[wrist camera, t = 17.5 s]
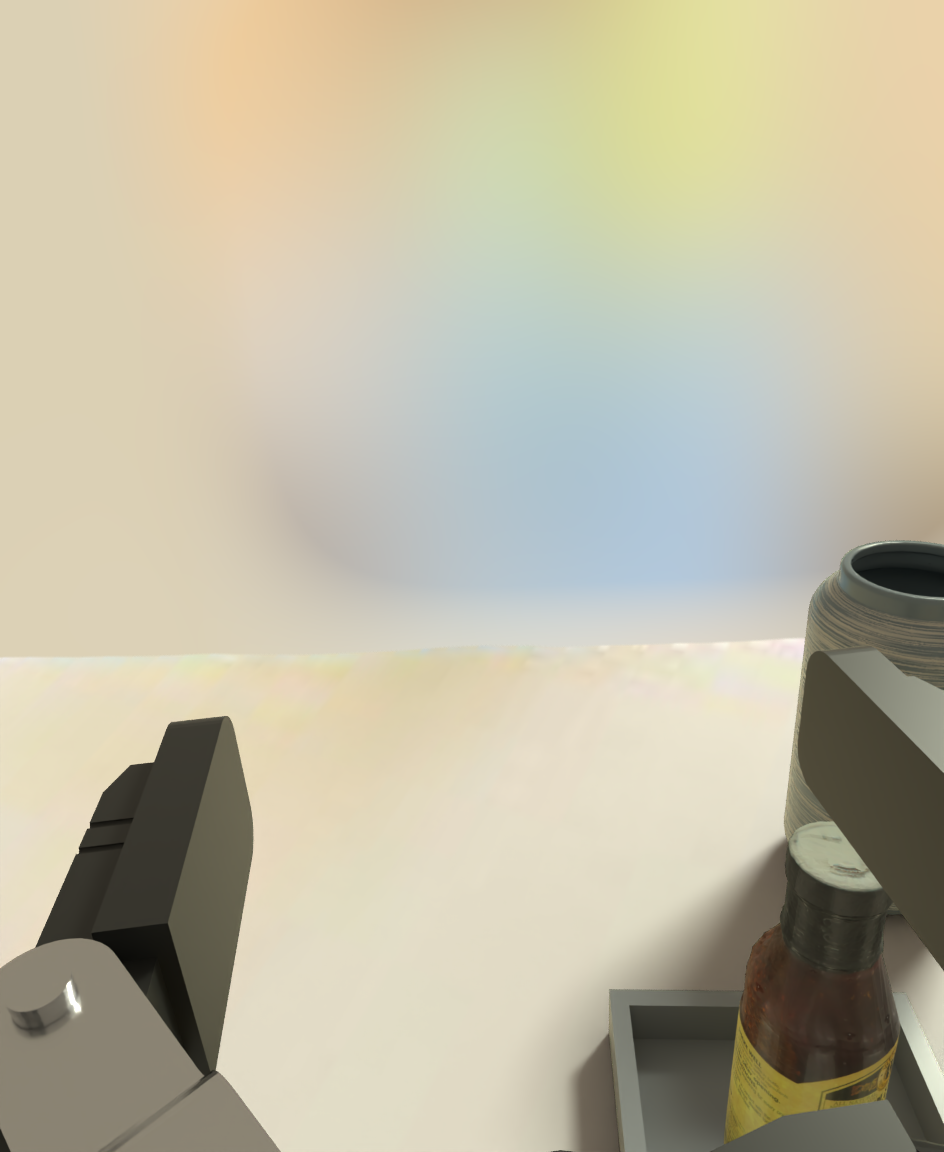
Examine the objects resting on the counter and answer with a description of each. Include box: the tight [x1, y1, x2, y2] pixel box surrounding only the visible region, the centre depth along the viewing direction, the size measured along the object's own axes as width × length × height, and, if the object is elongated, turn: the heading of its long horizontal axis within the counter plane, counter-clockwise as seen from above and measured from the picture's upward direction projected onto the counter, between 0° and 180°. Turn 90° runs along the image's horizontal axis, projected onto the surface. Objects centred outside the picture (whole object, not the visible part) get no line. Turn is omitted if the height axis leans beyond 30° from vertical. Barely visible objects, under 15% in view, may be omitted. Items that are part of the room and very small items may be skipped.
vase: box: [784, 540, 944, 915], centre depth 55 cm, size 12×12×23 cm
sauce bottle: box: [724, 821, 900, 1144], centre depth 37 cm, size 6×6×20 cm
